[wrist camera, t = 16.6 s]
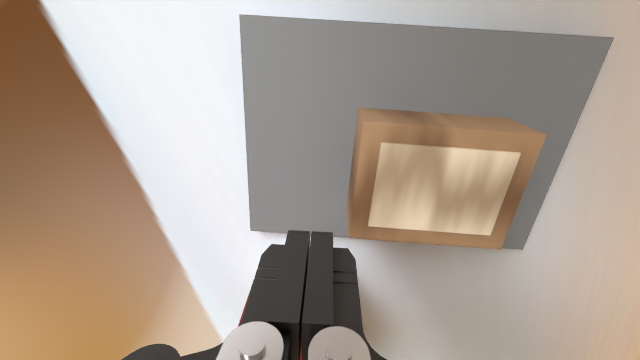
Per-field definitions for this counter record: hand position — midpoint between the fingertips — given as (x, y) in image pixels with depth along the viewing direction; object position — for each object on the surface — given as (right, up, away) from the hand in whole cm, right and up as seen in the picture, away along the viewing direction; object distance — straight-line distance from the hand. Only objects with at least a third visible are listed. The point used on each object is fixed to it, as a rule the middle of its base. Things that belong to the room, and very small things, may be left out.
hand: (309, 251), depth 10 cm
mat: (+6, +5, +10) cm, 12 cm away
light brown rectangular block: (+2, +3, +7) cm, 8 cm away
